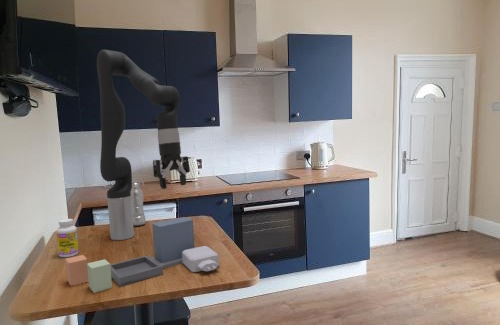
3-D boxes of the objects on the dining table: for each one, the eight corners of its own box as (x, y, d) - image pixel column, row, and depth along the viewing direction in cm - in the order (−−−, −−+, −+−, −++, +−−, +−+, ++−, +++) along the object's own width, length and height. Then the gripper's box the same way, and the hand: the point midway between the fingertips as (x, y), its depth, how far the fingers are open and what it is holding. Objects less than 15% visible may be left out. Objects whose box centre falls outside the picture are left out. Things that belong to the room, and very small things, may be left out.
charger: (198, 280, 109) (182, 264, 122) (227, 273, 113) (208, 258, 127) (197, 264, 109) (181, 250, 122) (226, 258, 113) (208, 245, 126)
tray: (107, 273, 117) (106, 265, 117) (147, 262, 125) (146, 255, 124) (120, 286, 107) (119, 278, 106) (163, 274, 114) (162, 266, 114)
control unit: (149, 260, 127) (147, 222, 126) (187, 250, 135) (184, 215, 134) (161, 268, 119) (159, 228, 118) (200, 257, 127) (198, 220, 126)
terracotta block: (67, 281, 112) (65, 258, 112) (85, 276, 115) (83, 254, 114) (71, 286, 108) (68, 263, 108) (89, 281, 111) (87, 259, 110)
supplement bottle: (57, 259, 133) (53, 223, 131) (60, 253, 139) (57, 219, 138) (77, 256, 134) (74, 221, 133) (80, 250, 141) (77, 217, 140)
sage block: (89, 287, 107) (86, 263, 107) (107, 282, 110) (105, 259, 110) (93, 293, 103) (91, 268, 103) (112, 287, 106) (110, 263, 106)
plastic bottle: (148, 223, 177) (144, 181, 175) (142, 227, 171) (139, 183, 169) (134, 223, 178) (131, 181, 176) (128, 227, 171) (125, 184, 169)
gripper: (178, 141, 142) (182, 183, 143) (146, 143, 131) (150, 189, 132) (191, 140, 137) (195, 184, 138) (158, 142, 126) (163, 190, 127)
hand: (173, 186), depth 135 cm, fingers open, 8 cm apart
